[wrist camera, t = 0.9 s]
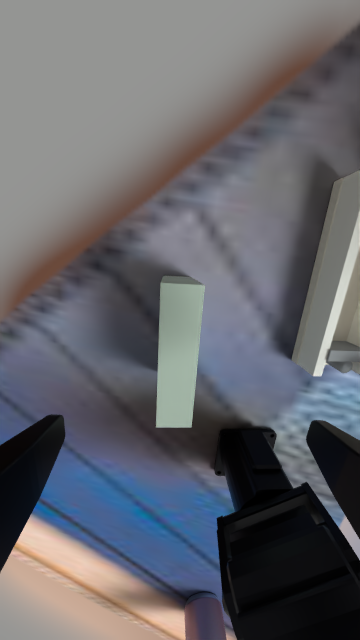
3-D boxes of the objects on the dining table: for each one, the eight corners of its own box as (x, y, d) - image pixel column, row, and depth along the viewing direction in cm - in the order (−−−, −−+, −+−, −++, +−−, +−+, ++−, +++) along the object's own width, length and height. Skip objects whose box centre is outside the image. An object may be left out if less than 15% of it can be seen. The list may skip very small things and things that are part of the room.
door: (183, 372, 20) (191, 427, 13) (160, 371, 20) (156, 427, 13) (190, 276, 17) (204, 285, 11) (163, 275, 17) (160, 282, 10)
